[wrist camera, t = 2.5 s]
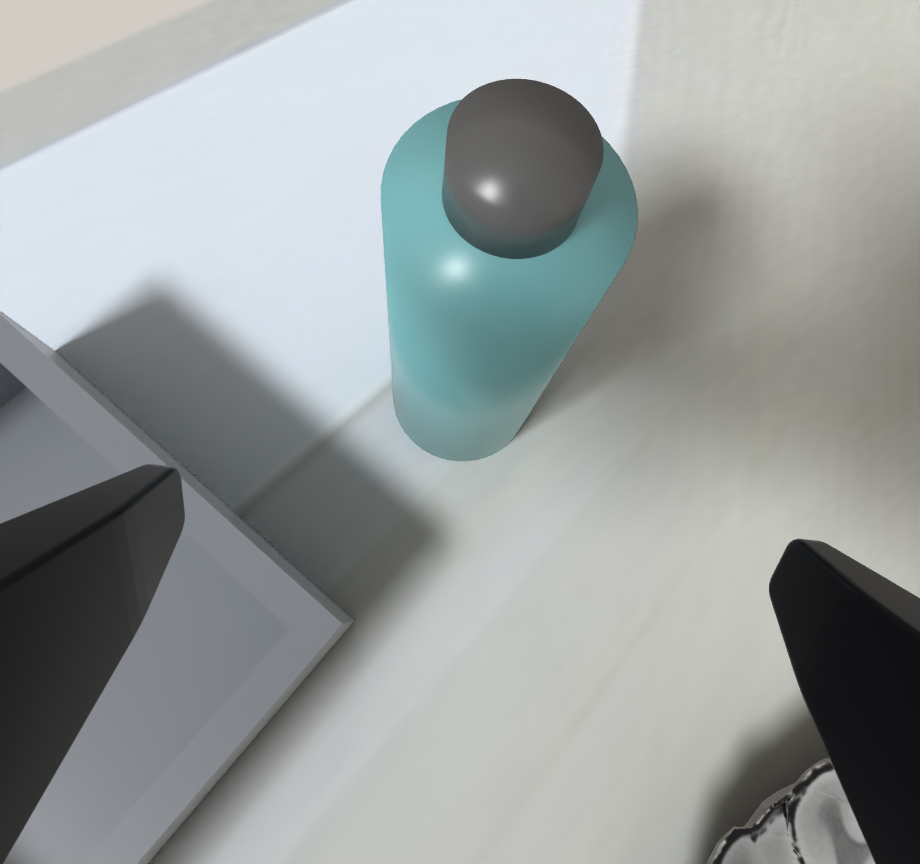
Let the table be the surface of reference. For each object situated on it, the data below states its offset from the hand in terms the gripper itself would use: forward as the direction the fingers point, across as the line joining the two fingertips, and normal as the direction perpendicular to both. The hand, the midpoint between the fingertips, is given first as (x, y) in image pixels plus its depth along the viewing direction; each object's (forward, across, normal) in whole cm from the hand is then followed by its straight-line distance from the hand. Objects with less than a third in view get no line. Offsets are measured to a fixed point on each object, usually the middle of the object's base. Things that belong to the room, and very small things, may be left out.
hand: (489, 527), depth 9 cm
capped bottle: (+14, 0, +4) cm, 14 cm away
